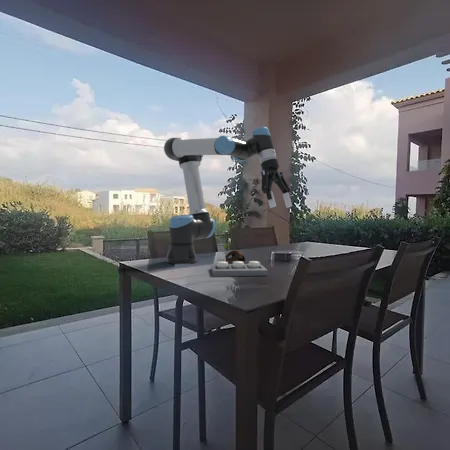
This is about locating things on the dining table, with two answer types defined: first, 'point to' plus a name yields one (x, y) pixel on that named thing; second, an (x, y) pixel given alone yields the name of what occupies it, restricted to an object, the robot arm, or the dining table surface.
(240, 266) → the button mid
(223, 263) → the button
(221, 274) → the board
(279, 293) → the dining table surface
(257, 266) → the button
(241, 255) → the brown looped knot
